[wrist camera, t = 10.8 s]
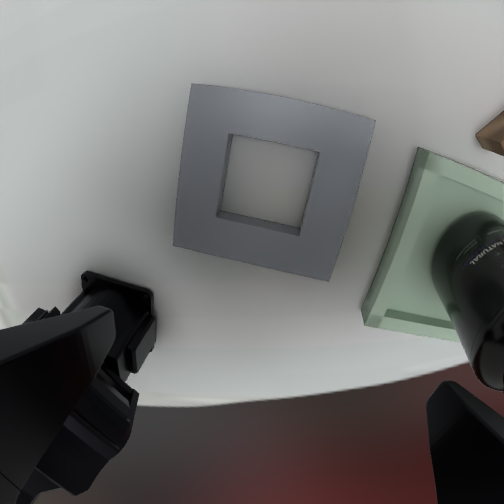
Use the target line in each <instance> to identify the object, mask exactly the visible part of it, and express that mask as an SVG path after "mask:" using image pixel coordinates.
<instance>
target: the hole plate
mask: <svg viewBox="0 0 504 504" xmlns="http://www.w3.org/2000/svg"><path fill="white" fill-rule="evenodd" d="M375 122H376V120H373V119H369V118H366V117H362V116H359V115H356V114H352V113H348V112H345V111H341V110H337V109H333V108H329V107H325V106H321V105H317V104H313V103H309V102H304V101H300V100H295V99H290V98H285V97H280V96H275V95H270V94H264V93H258V92H252V91H246V90H240V89H233V88H226V87H218V86H210V85H201V84H191V90H190V96H189V103H188V110H187V117H186V124H185V131H184V139H183V147H182V155H181V163H180V172H179V182H178V191H177V202H176V213H175V225H174V238H173V246H176V247H181V248H185V249H189V250H193V251H197V252H202V253H206V254H210V255H214V256H219V257H223V258H227V259H232V260H236V261H240V262H244V263H249V264H253V265H257V266H262V267H266V268H270V269H275V270H279V271H284V272H288V273H292V274H297V275H301V276H306V277H310V278H314V279H319V280H323V281H328V282H329V280H330V277H331V274H332V271H333V268H334V265H335V262H336V259H337V256H338V253H339V250H340V247H341V244H342V240H343V237H344V234H345V231H346V228H347V224H348V221H349V218H350V215H351V211H352V208H353V204H354V201H355V198H356V194H357V191H358V187H359V184H360V180H361V176H362V173H363V169H364V165H365V162H366V158H367V154H368V150H369V146H370V142H371V138H372V134H373V130H374V126H375ZM232 134H235V135H241V136H246V137H252V138H257V139H262V140H267V141H272V142H277V143H281V144H286V145H291V146H295V147H299V148H304V149H308V150H312V151H316V152H318V157H317V161H316V165H315V169H314V174H313V178H312V182H311V186H310V190H309V194H308V198H307V202H306V206H305V210H304V214H303V218H302V222H301V226H300V228H295V227H291V226H287V225H282V224H278V223H273V222H269V221H265V220H260V219H256V218H251V217H247V216H242V215H237V214H233V213H228V212H224V211H220V210H221V203H222V197H223V190H224V184H225V177H226V171H227V165H228V159H229V152H230V146H231V140H232Z"/></svg>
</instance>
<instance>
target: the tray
mask: <svg viewBox="0 0 504 504" xmlns="http://www.w3.org/2000/svg"><path fill="white" fill-rule="evenodd" d="M474 213H490V214H494V215H496V216H498V217H500V218H501V219H503V220H504V183H503V182H501V181H499V180H496V179H494V178H492V177H490V176H488V175H486V174H484V173H481V172H479V171H477V170H475V169H472V168H470V167H468V166H465V165H463V164H461V163H458V162H456V161H453V160H451V159H448V158H446V157H443V156H441V155H438V154H435V153H433V152H430V151H428V150H425V149H422V148H419V147H418V151H417V154H416V158H415V161H414V165H413V168H412V172H411V175H410V178H409V182H408V185H407V188H406V191H405V195H404V198H403V201H402V204H401V207H400V210H399V213H398V216H397V219H396V222H395V225H394V228H393V230H392V233H391V236H390V239H389V241H388V244H387V247H386V250H385V252H384V255H383V257H382V260H381V263H380V265H379V268H378V270H377V273H376V275H375V278H374V280H373V283H372V285H371V288H370V290H369V292H368V295H367V297H366V299H365V302H364V304H363V306H362V309H361V311H362V316H363V321H364V326H370V327H375V328H380V329H386V330H391V331H397V332H402V333H408V334H414V335H420V336H426V337H432V338H438V339H444V340H450V341H457V342H461V341H460V339H459V337H458V335H457V332H456V330H455V328H454V326H453V324H452V322H451V320H450V318H449V316H448V314H447V312H446V310H445V308H444V306H443V304H442V302H441V300H440V298H439V296H438V293H437V291H436V289H435V287H434V284H433V281H432V275H431V265H432V259H433V255H434V252H435V249H436V247H437V244H438V243H439V241H440V239H441V238H442V236H443V235H444V233H445V232H446V231H447V230H448V229H449V228H450V227H451V226H452V225H453V224H454V223H455V222H457V221H458V220H460V219H462V218H463V217H465V216H468V215H471V214H474Z"/></svg>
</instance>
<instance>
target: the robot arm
mask: <svg viewBox="0 0 504 504" xmlns="http://www.w3.org/2000/svg"><path fill="white" fill-rule="evenodd" d="M87 278H88V279H87ZM81 281H82V288H83V292H82V293H81V294H80V295H79V296H78V297H77V298H76V299H75V300H74V301H73V302H72V303H71V304H70V305H69V306H68V307H67V308H66V309H65V310H64V312H63V313H62V314H60V311H59V310H58V309H57V308H56V306H55V307H54V308H53V309H52V310H51V311H49V312H48V311H47V310H46V311H45V310H43V309H41V308H38V309H37V310H36V311H35V312H34V313H33V314H32V315H31V316H30V317H29V318H28V319H27V320H26V321H25V322H24V323H23V324H22V325H18V326H14V327H10V328H6V329H1V330H0V504H33V503H34V501H35V500H36V499H37V498H38V497H39V496H40V495H41V494H42V493H47V492H51V491H55V490H59V489H64V490H65V491H67V492H68V493H70V494H71V495H74V496H75V495H78V494H80V493H82V492H84V491H86V490H88V489H89V488H90V486H91V484H92V483H93V481H94V480H95V478H96V476H97V475H98V474H99V472H100V471H101V469H102V468H103V467H104V466H105V465H106V463H107V462H108V461H109V460H110V459H111V458H113V457H114V456H116V455H117V454H118V453H119V452H120V451H121V450H122V448H123V447H124V446H125V444H126V443H127V440H128V439H129V437H130V434H131V429H132V425H133V420H134V415H135V411H136V406H137V402H138V397H139V393H138V392H137V391H136V390H135V389H132V388H131V387H130V386H129V385H127V384H126V383H125V381H126V380H127V378H128V376H129V374H130V373H134V374H135V373H137V372H138V371H139V369H140V368H141V366H142V364H143V362H144V361H145V359H146V357H147V355H148V353H149V352H151V351H152V350H153V348H154V343H155V341H156V318H155V316H154V315H153V294H152V292H151V291H150V290H148V289H144V288H141V287H137V286H134V285H131V284H127V283H124V282H120V281H117V280H114V279H110V278H107V277H104V276H101V275H97V274H94V273H91V272H88V271H86V272H84V273H83V274H82V275H81ZM145 295H146V296H147V297H146V296H145ZM426 412H427V423H428V435H429V446H430V454H431V459H432V466H433V472H434V478H435V486H436V493H437V501H438V504H504V417H502V416H501V415H500V414H498V413H497V412H496V411H494V410H493V409H492V408H490V407H489V406H487V405H486V404H485V403H483V402H482V401H481V400H479V399H478V398H477V397H475V396H474V395H473V394H471V393H470V392H469V391H467V390H466V389H464V388H463V387H462V386H460V385H459V384H458V383H456V382H454V381H442V382H441V383H440V384H439V385H438V387H437V388H436V389H435V391H434V392H433V393H432V394H431V396H430V397H429V398H428V401H427V404H426Z"/></svg>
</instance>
